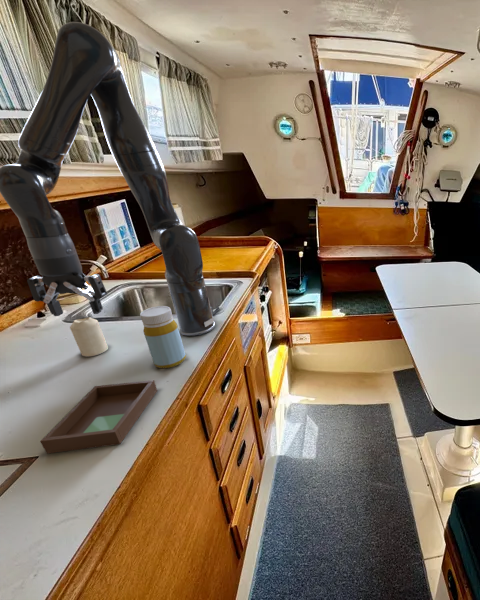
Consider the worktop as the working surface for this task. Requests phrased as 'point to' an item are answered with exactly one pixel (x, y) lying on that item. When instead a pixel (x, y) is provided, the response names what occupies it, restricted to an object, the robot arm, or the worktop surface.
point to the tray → (99, 404)
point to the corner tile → (104, 423)
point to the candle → (88, 336)
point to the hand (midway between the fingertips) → (78, 313)
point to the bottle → (162, 337)
